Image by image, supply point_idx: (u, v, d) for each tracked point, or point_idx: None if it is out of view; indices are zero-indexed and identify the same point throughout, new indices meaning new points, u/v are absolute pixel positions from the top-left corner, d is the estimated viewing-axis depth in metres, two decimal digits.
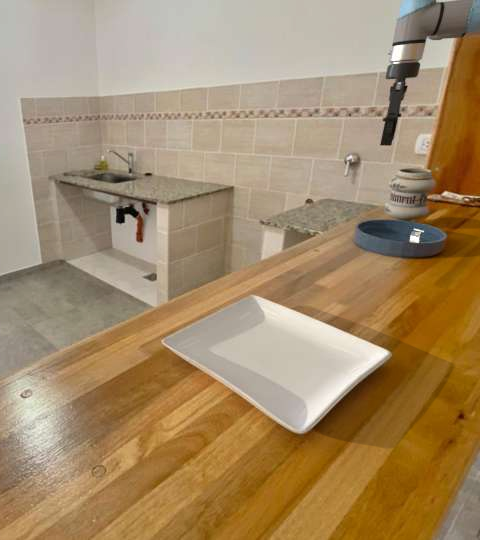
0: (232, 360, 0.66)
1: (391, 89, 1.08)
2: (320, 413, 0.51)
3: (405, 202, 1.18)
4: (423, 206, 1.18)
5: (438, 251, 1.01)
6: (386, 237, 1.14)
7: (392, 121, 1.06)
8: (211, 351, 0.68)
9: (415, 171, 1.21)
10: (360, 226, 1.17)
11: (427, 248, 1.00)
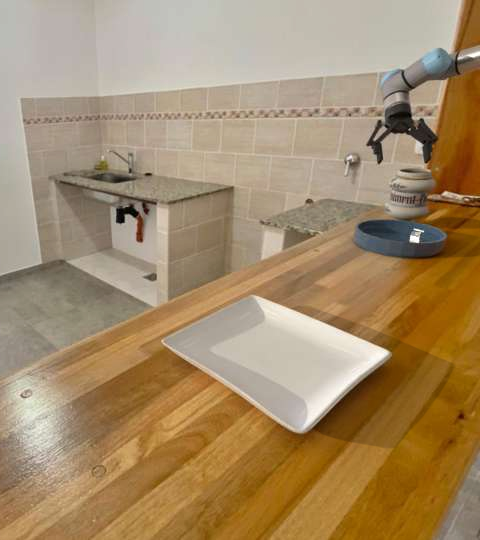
0: (232, 360, 0.66)
1: None
2: (320, 413, 0.51)
3: (405, 202, 1.18)
4: (423, 206, 1.18)
5: (438, 251, 1.01)
6: (386, 237, 1.14)
7: (373, 144, 1.29)
8: (211, 351, 0.68)
9: (415, 171, 1.21)
10: (360, 226, 1.17)
11: (427, 248, 1.00)
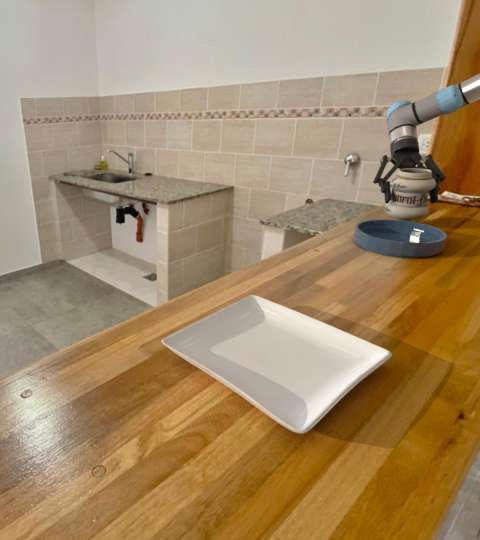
0: (232, 360, 0.66)
1: (395, 164, 1.26)
2: (320, 413, 0.51)
3: (405, 202, 1.18)
4: (423, 206, 1.18)
5: (438, 251, 1.01)
6: (386, 237, 1.14)
7: (381, 182, 1.23)
8: (211, 351, 0.68)
9: (416, 171, 1.20)
10: (360, 226, 1.17)
11: (427, 248, 1.00)
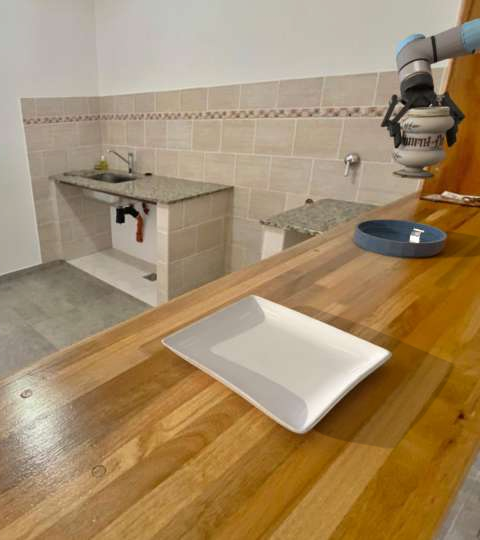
0: (232, 360, 0.66)
1: None
2: (320, 413, 0.51)
3: (418, 145, 1.02)
4: (439, 149, 1.02)
5: (438, 251, 1.01)
6: (386, 237, 1.14)
7: (390, 125, 1.07)
8: (211, 351, 0.68)
9: None
10: (360, 226, 1.17)
11: (427, 248, 1.00)
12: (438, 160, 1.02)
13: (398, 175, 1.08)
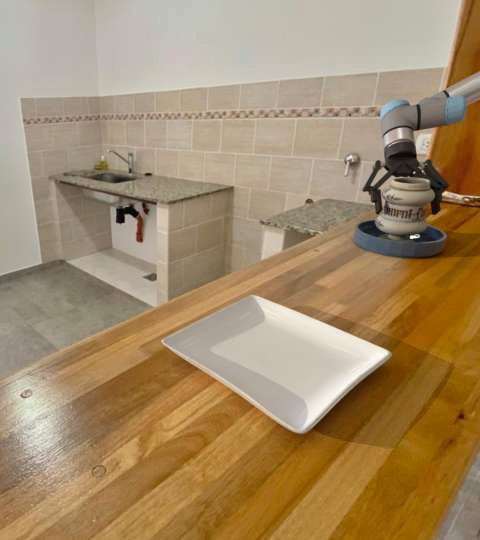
0: (232, 360, 0.66)
1: None
2: (320, 413, 0.51)
3: (400, 217, 1.04)
4: (421, 221, 1.03)
5: (438, 251, 1.01)
6: None
7: (371, 190, 1.08)
8: (211, 351, 0.68)
9: (412, 181, 1.06)
10: (360, 226, 1.17)
11: (427, 248, 1.00)
12: (420, 231, 1.03)
13: None
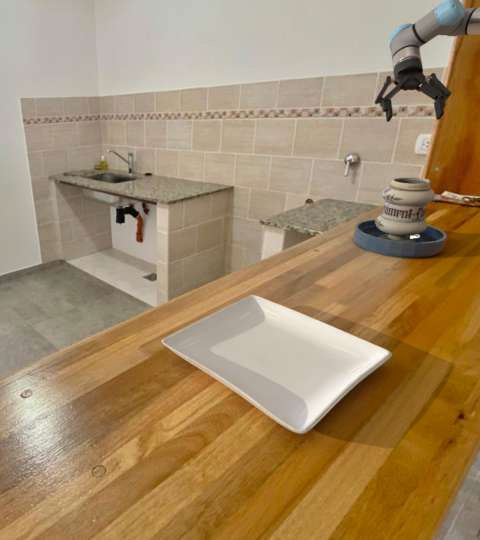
0: (232, 360, 0.66)
1: None
2: (320, 413, 0.51)
3: (400, 217, 1.04)
4: (421, 221, 1.03)
5: (438, 251, 1.01)
6: None
7: (382, 101, 1.23)
8: (211, 351, 0.68)
9: (412, 181, 1.06)
10: (360, 226, 1.17)
11: (427, 248, 1.00)
12: (420, 231, 1.03)
13: None
